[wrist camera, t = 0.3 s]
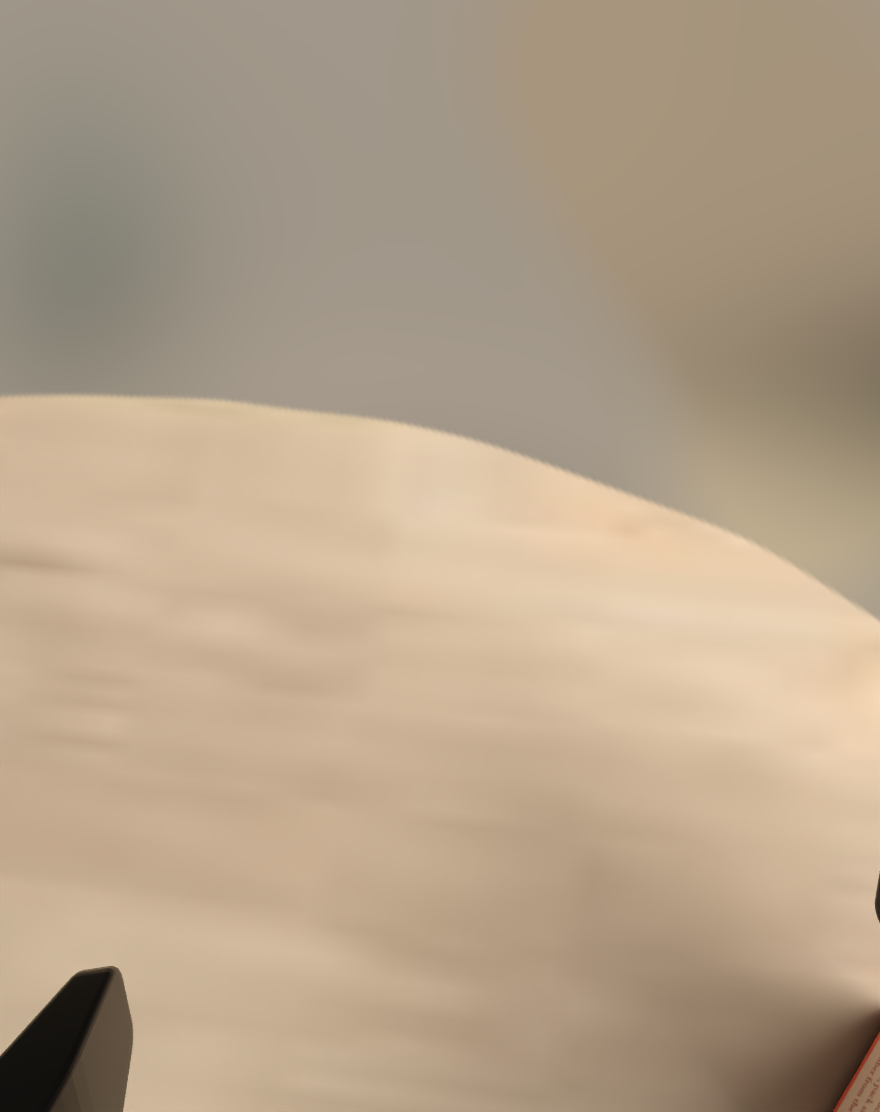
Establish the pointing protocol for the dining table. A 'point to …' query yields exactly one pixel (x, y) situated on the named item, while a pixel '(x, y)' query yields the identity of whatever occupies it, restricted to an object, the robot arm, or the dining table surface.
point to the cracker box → (864, 1085)
